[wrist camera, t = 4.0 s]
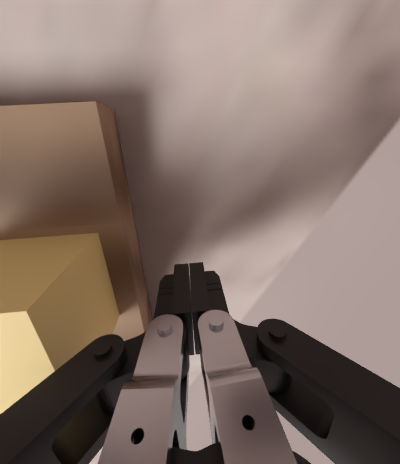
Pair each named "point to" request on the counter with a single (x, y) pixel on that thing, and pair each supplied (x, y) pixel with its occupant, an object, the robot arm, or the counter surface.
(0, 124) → the box
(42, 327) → the mustard block
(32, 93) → the counter surface
